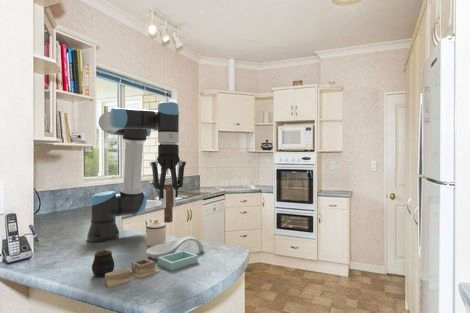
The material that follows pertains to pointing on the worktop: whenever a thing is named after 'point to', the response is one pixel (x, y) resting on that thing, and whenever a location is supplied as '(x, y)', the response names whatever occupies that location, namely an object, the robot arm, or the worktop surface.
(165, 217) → the dowel
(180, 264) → the tray
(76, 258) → the worktop surface
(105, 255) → the mate gourd
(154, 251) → the spoon rest
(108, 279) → the block
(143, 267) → the socket block
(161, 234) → the beige lidded jar
